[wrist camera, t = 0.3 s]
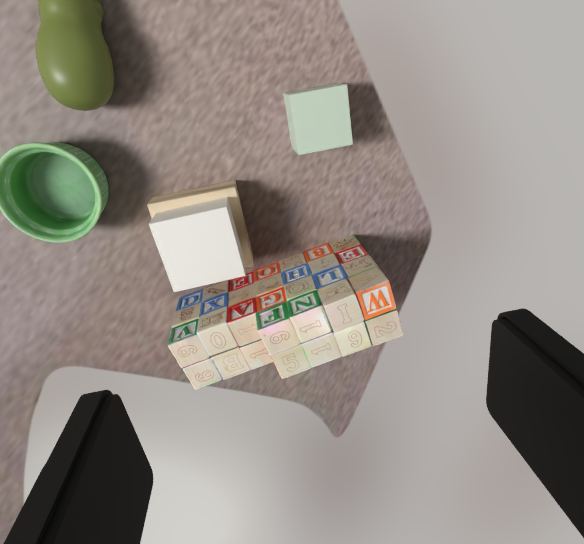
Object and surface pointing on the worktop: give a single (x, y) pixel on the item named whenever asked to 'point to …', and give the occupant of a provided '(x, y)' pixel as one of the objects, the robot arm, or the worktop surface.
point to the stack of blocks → (286, 315)
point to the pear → (74, 53)
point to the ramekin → (52, 190)
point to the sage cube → (319, 118)
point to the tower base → (204, 195)
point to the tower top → (198, 244)
